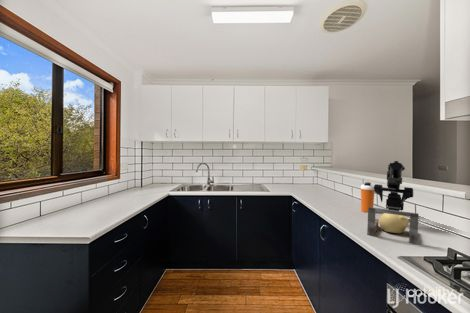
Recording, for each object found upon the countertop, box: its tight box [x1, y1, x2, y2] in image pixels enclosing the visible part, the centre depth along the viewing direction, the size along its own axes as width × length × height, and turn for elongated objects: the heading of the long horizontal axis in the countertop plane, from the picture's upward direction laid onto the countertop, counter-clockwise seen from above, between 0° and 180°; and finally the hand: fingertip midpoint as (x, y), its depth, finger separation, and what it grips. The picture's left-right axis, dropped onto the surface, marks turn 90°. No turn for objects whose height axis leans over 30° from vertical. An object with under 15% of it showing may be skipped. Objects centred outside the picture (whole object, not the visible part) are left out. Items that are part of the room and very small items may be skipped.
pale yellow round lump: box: [378, 213, 410, 234], centre depth 128 cm, size 12×12×11 cm
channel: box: [366, 206, 419, 245], centre depth 124 cm, size 20×20×14 cm
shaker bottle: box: [360, 181, 375, 214], centre depth 171 cm, size 9×9×20 cm
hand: (390, 202), depth 137 cm, fingers open, 9 cm apart
